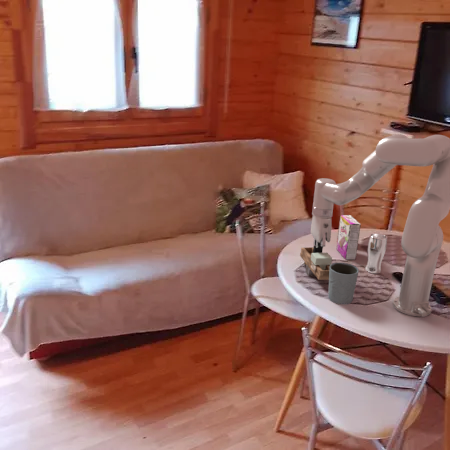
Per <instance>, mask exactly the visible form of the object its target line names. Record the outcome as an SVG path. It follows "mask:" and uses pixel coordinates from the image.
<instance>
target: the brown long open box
mask: <svg viewBox="0 0 450 450" xmlns="http://www.w3.org/2000/svg"><path fill="white" fill-rule="evenodd" d="M313 247H314V246H313ZM313 247H301V248H300V254H299V256H300V258H301V259H302V261H304V262H303V264H304V265H305V271H304V272H305V274H306V275H307V276H308V277H316V278H317V280H318V281H326V280H327V281H329V269H330V265H326V268H325V270H322V269H321V267H320V266H319V265H315V264H314V263H313V262H312V261H311V253H313Z"/></svg>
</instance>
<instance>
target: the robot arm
mask: <svg viewBox="0 0 450 450" xmlns="http://www.w3.org/2000/svg"><path fill="white" fill-rule="evenodd" d="M396 166H406V167H408V166H409V167H431V166H432V168H431V171H430V173H429V176H428V179H427V183H426V186H425V189H424V192H423V194H422V195H421V197H419V198H417V199H416V200H415V201H414V202H413V203H412V205H411V207H410V208H409V211H408V214H407V218H406V221H405V224H404V229H403V232H402V236H401V243H400V244H401V248H402V250H403V253H404V254H406V257H405V258H406V259H405V265H404V269H403V274H402V277H401V278H402V280H401V285H400V291H399V295H398V297H397V296H396V297H395V298H394V299H393V301H392V306H393V307H394V308H395V309H396V310H397V311H399V312H400V313H402V314H404V315H408V316H411V317H424V318H425V317H426V316H428V315H430V314H431V313H432V307H431V305H430V302H429V299H430V294H431V289H432V284H433V280H434V274H435V270H436V267H437V262H438V258H439V255H440V252H441V248H442V245H443V243H444V242H443V241H444V233H443V229H442V227H441V226H440V225H439V224H440V223H441V221H443V220H444V219H445V218H446V217H447V216H448V215H449V213H450V137H448V136H446V135H444V134H443V135H442V134H433V135H429V136H427V137H424V138H410V137H408V136H406V135H405V134H402V133H396V134H393V135H389V136H385V137H384V138H382V139H381V140H379V141H378V143H377V145H376V147H375V149H374V151H372V152H371V153H370V154H369V155H367V156H366V157H365V158H364V160H362V167H360V169H359V170H358V172H356V173H355V174H354V175H353V176H351V177H350V178H349V179H348V180H346V181H343V182H340V183H336V181H335V180H334V179H331V178H323V177H322V178H317V179H316V181H315V184H314V193H313V203H312V212H311V215H312V217H311V225H310V235H311V236H312V237H313V253H323V249H324V247H326V242H327V243H330V242H331V238H332V217H333V210H334V206H335V205H337V206H343V205H347V204H349V203H351V202H353V201H355V200H356V199H359V198H360V197H361V196H362V195H364V194H365V193H366V192H368V191H369V190H370V189H371V188H372V187H373V186H374V185H375V184H377V182H379V181H380V180H381V179H382V178H383V177H384V176H385V175H386V174H388V173H389V172H390V171H392V169H394V168H395V167H396Z"/></svg>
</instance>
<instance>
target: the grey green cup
mask: <svg viewBox="0 0 450 450" xmlns="http://www.w3.org/2000/svg"><path fill="white" fill-rule="evenodd" d="M359 273H360V270H359V268H358V267H357V266H356V265H354V264H351V263H348V262H347V263H346V262H333V263H331V265H330V269H329V280H328V293H327V294H328V296H327V298H328V299H329V301H330V302H332V303H335V304H338V305H349V304H351V303H352V302H353V301H354V300H353V299H354V295H355V290H356V284H357V281H358V276H359Z"/></svg>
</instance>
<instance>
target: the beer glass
mask: <svg viewBox="0 0 450 450" xmlns="http://www.w3.org/2000/svg"><path fill="white" fill-rule="evenodd" d="M387 242H388V236H387V235H385V234H384V233H379V232H376V233H375V232H374V233H370V234H369V238H368V243H367V261H366V262H367V263H366V265H365V268H364V270H365V271H366V272H367V271H368V272H367V273H370V274H380V273H381V272H382V262H383V258H384V256H385V253H386V250H387V244H388V243H387Z"/></svg>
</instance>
